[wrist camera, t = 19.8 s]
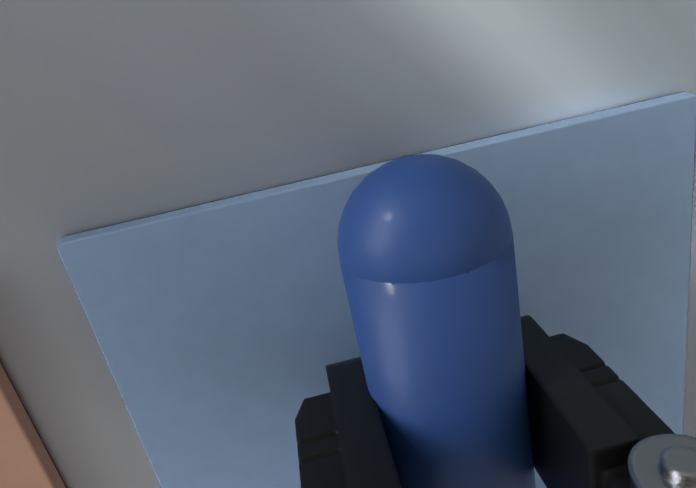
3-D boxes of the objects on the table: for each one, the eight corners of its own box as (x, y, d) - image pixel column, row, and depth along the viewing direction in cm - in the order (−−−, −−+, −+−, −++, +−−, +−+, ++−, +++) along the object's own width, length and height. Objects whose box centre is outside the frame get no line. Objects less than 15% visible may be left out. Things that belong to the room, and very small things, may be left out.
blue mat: (60, 236, 10) (53, 244, 10) (683, 91, 11) (699, 93, 11) (239, 650, 15) (238, 666, 15) (669, 530, 16) (678, 542, 16)
